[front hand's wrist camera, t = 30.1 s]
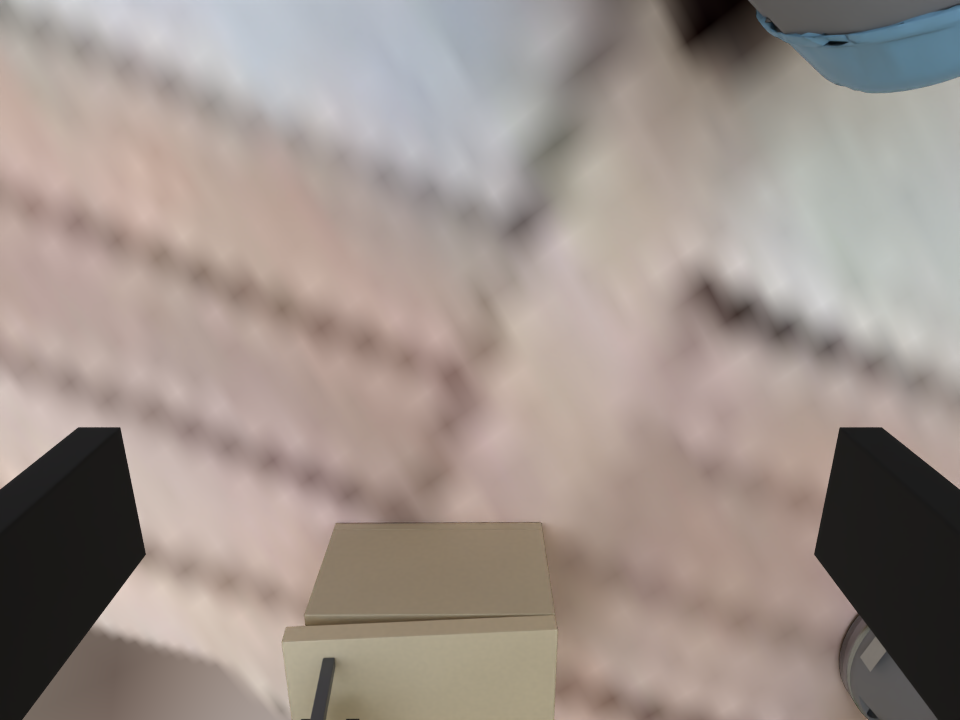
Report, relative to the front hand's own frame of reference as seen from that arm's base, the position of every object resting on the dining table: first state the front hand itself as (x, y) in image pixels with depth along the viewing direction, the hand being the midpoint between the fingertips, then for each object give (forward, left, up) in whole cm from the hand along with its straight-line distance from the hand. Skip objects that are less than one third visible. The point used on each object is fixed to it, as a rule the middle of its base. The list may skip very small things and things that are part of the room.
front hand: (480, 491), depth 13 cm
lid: (+18, -20, -22) cm, 35 cm away
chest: (+18, -20, -32) cm, 42 cm away
